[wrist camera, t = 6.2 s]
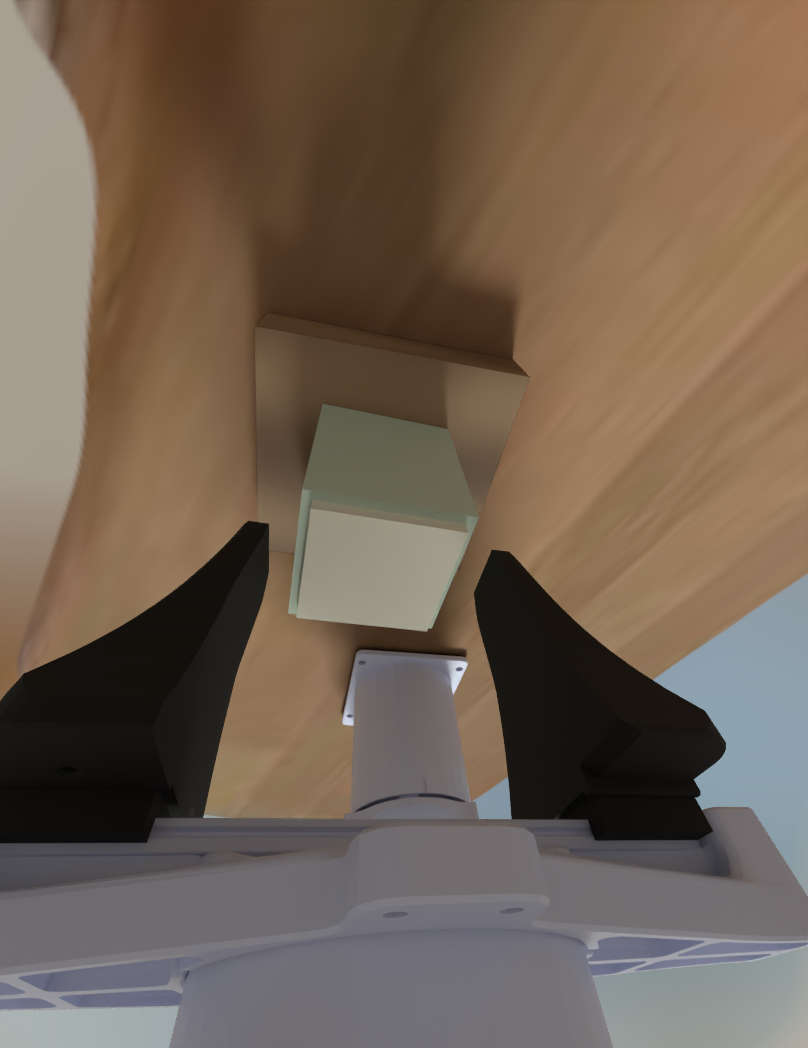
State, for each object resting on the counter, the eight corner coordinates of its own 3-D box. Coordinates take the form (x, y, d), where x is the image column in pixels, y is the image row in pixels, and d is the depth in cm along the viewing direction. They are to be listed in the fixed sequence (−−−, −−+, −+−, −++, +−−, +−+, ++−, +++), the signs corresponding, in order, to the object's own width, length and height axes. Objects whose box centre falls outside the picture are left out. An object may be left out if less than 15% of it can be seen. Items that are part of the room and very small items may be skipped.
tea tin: (416, 526, 20) (432, 637, 15) (309, 509, 19) (286, 622, 14) (448, 429, 17) (481, 526, 12) (322, 403, 16) (300, 497, 11)
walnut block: (450, 534, 24) (459, 570, 22) (270, 513, 22) (258, 550, 20) (508, 355, 18) (530, 377, 16) (271, 309, 17) (254, 326, 14)
